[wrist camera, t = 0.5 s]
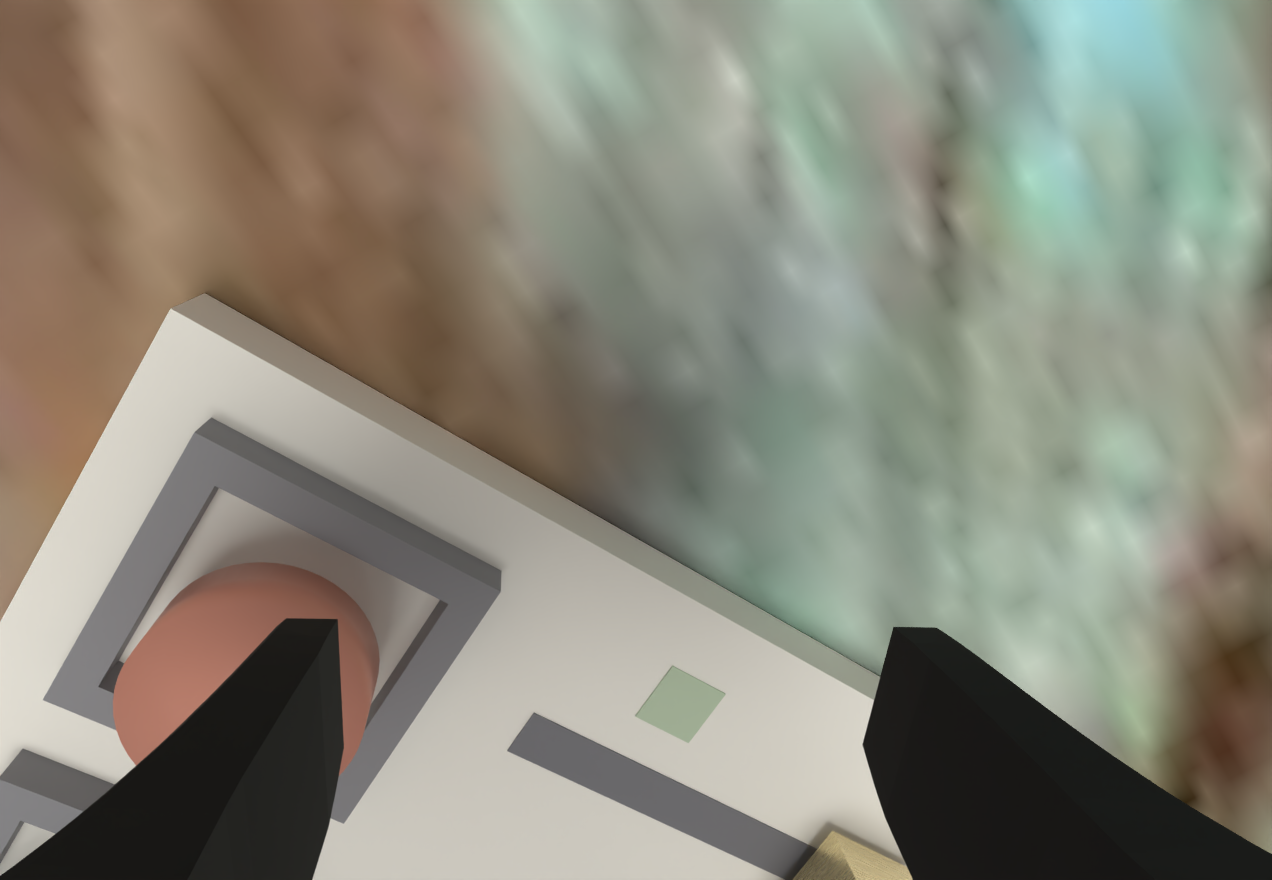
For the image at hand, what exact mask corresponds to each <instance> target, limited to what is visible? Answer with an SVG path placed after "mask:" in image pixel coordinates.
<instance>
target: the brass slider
mask: <svg viewBox="0 0 1272 880" xmlns="http://www.w3.org/2000/svg"><path fill="white" fill-rule="evenodd" d="M792 880H913V879H912V877H911V875H910V872H909V870H908V868H907V867H906V866H904V865H902V864H900V863H898V862H896V861H894V860H892V859H890V858H888V857H886V856H884V855H882V854H880V853H878V852H876V851H873V850H871V849H869V848H867V847H865V846H863V845H861V844H859V843H857V842H855V841H853V840H851V839H849V838H847V837H845V836H843V835H841V834H839V833H837V832H835V831H832V832H831V833H830V834H829V835H828V837H827V838H826V839H825V840H824V842H823V843H822V844H821V845H820V846H819V848H818V849H817V850H816V851H815V852H814V854H813V855H812V856H811V857H810V859H809V860H808V861H807V862H806V863H805V865H804V866H803V867H802V868H801V870H800V871H799V872H798V873H797V874H796V876H795V877H794V878H793V879H792Z"/></svg>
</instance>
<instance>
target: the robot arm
mask: <svg viewBox="0 0 1272 880" xmlns="http://www.w3.org/2000/svg"><path fill="white" fill-rule="evenodd" d="M862 745H863V748H864V752H865V755H866V759H867V762H868V766H869V769H870V772H871V776H872V779H873V783H874V786H875V789H876V792H877V795H878V798H879V801H880V804H881V807H882V810H883V813H884V816H885V819H886V821H887V823H888V826H889V828H890V830H891V832H892V835H893V837H894V839H895V841H896V844H897V846H898V848H899V850H900V852H901V855H902V857H903V859H904V861H905V863H906V866H907V868H908V870H909V872H910V875H911V877H912V879H913V880H1272V854H1271V853H1269V852H1267V851H1265V850H1263V849H1261V848H1260V847H1258V846H1256V845H1254V844H1253V843H1251V842H1249V841H1247V840H1246V839H1244V838H1242V837H1241V836H1239V835H1237V834H1236V833H1234V832H1232V831H1231V830H1229V829H1227V828H1225V827H1224V826H1222V825H1220V824H1219V823H1217V822H1215V821H1214V820H1212V819H1210V818H1209V817H1207V816H1205V815H1203V814H1202V813H1200V812H1198V811H1197V810H1195V809H1193V808H1192V807H1190V806H1188V805H1187V804H1185V803H1184V802H1182V801H1181V800H1179V799H1177V798H1176V797H1174V796H1173V795H1171V794H1169V793H1168V792H1166V791H1165V790H1163V789H1162V788H1160V787H1159V786H1157V785H1156V784H1154V783H1153V782H1151V781H1150V780H1148V779H1147V778H1145V777H1144V776H1142V775H1141V774H1139V773H1138V772H1136V771H1135V770H1133V769H1132V768H1130V767H1129V766H1127V765H1126V764H1124V763H1123V762H1121V761H1120V760H1118V759H1117V758H1115V757H1114V756H1112V755H1111V754H1110V753H1108V752H1107V751H1105V750H1104V749H1102V748H1101V747H1100V746H1098V745H1097V744H1095V743H1094V742H1093V741H1091V740H1090V739H1088V738H1087V737H1085V736H1084V735H1083V734H1081V733H1080V732H1079V731H1077V730H1076V729H1074V728H1073V727H1072V726H1070V725H1069V724H1068V723H1066V722H1065V721H1063V720H1062V719H1061V718H1059V717H1058V716H1057V715H1055V714H1054V713H1053V712H1051V711H1050V710H1049V709H1047V708H1046V707H1044V706H1043V705H1042V704H1040V703H1039V702H1038V701H1036V700H1035V699H1034V698H1032V697H1031V696H1030V695H1028V694H1027V693H1026V692H1024V691H1023V690H1022V689H1020V688H1019V687H1018V686H1016V685H1015V684H1014V683H1012V682H1011V681H1010V680H1009V679H1007V678H1006V677H1005V676H1003V675H1002V674H1001V673H999V672H998V671H997V670H995V669H994V668H993V667H991V666H990V665H989V664H987V663H986V662H985V661H983V660H982V659H981V658H979V657H978V656H976V655H975V654H974V653H972V652H971V651H970V650H968V649H967V648H966V647H964V646H963V645H961V644H960V643H959V642H957V641H956V640H954V639H953V638H951V637H950V636H948V635H947V634H945V633H944V632H942V631H941V630H939V629H938V628H921V627H893V631H892V635H891V639H890V642H889V646H888V650H887V654H886V658H885V661H884V665H883V669H882V673H881V676H880V680H879V684H878V688H877V691H876V695H875V699H874V703H873V706H872V710H871V714H870V718H869V721H868V725H867V729H866V733H865V736H864V740H863V744H862ZM343 750H344V737H343V716H342V695H341V675H340V654H339V633H338V619H306V618H286V619H285V620H283V621H282V622H281V623H280V624H279V625H277V626H276V627H275V629H274V630H273V631H272V632H271V633H270V634H269V635H268V636H267V637H266V638H265V639H264V640H263V641H262V642H261V643H260V644H259V646H258V647H257V648H256V649H255V650H254V651H253V652H252V653H251V654H250V655H249V656H248V657H247V658H246V659H245V660H244V661H243V662H242V664H241V665H240V666H239V667H238V668H237V669H236V670H235V671H234V672H233V673H232V674H231V675H230V676H229V677H228V678H227V679H226V680H225V681H224V682H223V683H222V684H221V685H220V686H219V687H218V688H217V689H216V690H215V691H214V692H213V693H212V694H211V695H210V696H209V697H208V698H207V699H206V700H205V701H204V702H203V703H202V704H201V705H200V706H199V707H198V708H197V709H196V710H195V711H194V712H193V713H192V714H191V715H190V716H189V717H188V718H187V719H186V720H185V721H184V722H183V723H182V724H181V725H180V726H179V727H178V728H177V729H176V730H175V731H174V732H173V733H172V734H170V735H169V736H168V737H167V738H166V739H165V740H164V741H163V742H162V743H161V744H160V745H159V746H158V747H156V748H155V749H154V750H153V751H152V752H151V753H150V754H149V755H147V756H146V757H145V758H144V759H143V760H142V761H141V762H140V763H138V764H137V765H136V766H135V767H134V768H133V769H132V770H131V771H129V772H128V773H127V774H126V775H125V776H124V777H123V778H122V779H120V780H119V781H118V782H117V783H116V784H115V785H114V786H113V787H111V788H110V789H109V790H108V791H107V792H106V793H105V794H104V795H102V796H101V797H100V798H99V799H98V800H96V801H95V802H94V803H93V804H92V805H90V806H89V807H88V808H87V809H86V810H84V811H83V812H82V813H81V814H79V815H78V816H77V817H76V818H75V819H73V820H72V821H71V822H70V823H68V824H67V825H66V826H65V827H63V828H62V829H61V830H60V831H58V832H57V833H56V834H55V835H53V836H52V837H51V838H49V839H48V840H47V841H46V842H44V843H43V844H42V845H40V846H39V847H38V848H36V849H35V850H34V851H33V852H31V853H30V854H29V855H27V856H26V857H25V858H23V859H22V860H21V861H19V862H18V863H17V864H16V865H14V866H13V867H11V868H10V869H9V870H7V871H6V872H5V873H3V874H2V875H0V880H312V879H313V876H314V873H315V869H316V866H317V863H318V860H319V857H320V853H321V850H322V847H323V844H324V840H325V837H326V834H327V831H328V827H329V823H330V818H331V813H332V808H333V803H334V798H335V793H336V788H337V782H338V777H339V772H340V766H341V761H342V755H343Z"/></svg>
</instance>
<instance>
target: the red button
mask: <svg viewBox="0 0 1272 880" xmlns="http://www.w3.org/2000/svg"><path fill="white" fill-rule="evenodd" d="M286 618H306V619H338V633H339V654H340V675H341V695H342V716H343V737H344V750H343V755H342V761H341V766H340V772H339V775H340V774H341V773H342V772H343V771H344V770H345V769H346V767H347V766H348V765H349V763H350V762H351V761H352V759H353V757H354V755H355V754H356V752H357V750H358V748H359V745H360V743H361V740H362V737H363V733H364V730H365V726H366V722H367V718H368V714H369V710H370V706H371V702H372V698H373V695H374V691H375V687H376V683H377V678H378V674H379V662H380V658H379V648H378V643H377V640H376V636H375V633H374V631H373V628H372V626H371V623H370V622H369V620H368V618H367V617H366V615H365V613H364V612H363V611H362V609H361V608H360V607H359V606H358V604H357V603H356V602H355V601H354V600H353V599H352V598H351V597H350V596H349V595H348V594H347V593H346V592H345V591H343V590H342V589H341V588H339V587H338V586H337V585H335V584H334V583H332V582H330V581H329V580H327V579H325V578H323V577H322V576H320V575H317V574H315V573H313V572H310V571H308V570H305V569H301V568H298V567H295V566H290V565H285V564H279V563H267V562H256V563H243V564H237V565H231V566H228V567H224V568H221V569H218V570H215V571H213V572H210V573H208V574H206V575H203V576H202V577H200V578H198V579H197V580H195V581H193V582H192V583H190V584H189V585H188V586H186V587H185V588H184V589H183V590H181V591H180V592H179V593H178V594H177V595H176V596H175V597H174V598H173V599H172V601H171V602H170V603H169V604H168V606H167V607H166V608H165V609H164V611H163V612H162V613H161V615H160V616H159V617H158V619H157V620H156V621H155V623H154V624H153V625H152V626H151V628H150V629H149V630H148V632H147V633H146V634H145V636H144V637H143V638H142V639H141V641H140V642H139V643H138V645H137V646H136V647H135V649H134V650H133V651H132V653H131V654H130V656H129V657H128V658H127V660H126V661H125V663H124V665H123V667H122V669H121V671H120V673H119V675H118V678H117V682H116V685H115V689H114V696H113V717H114V722H115V726H116V731H117V733H118V736H119V738H120V741H121V743H122V745H123V747H124V749H125V751H126V752H127V754H128V756H129V757H130V758H131V760H132V761H133V762H134V764H135V765H137V764H138V763H140V762H141V761H142V760H143V759H144V758H145V757H146V756H147V755H149V754H150V753H151V752H152V751H153V750H154V749H155V748H156V747H158V746H159V745H160V744H161V743H162V742H163V741H164V740H165V739H166V738H167V737H168V736H169V735H170V734H172V733H173V732H174V731H175V730H176V729H177V728H178V727H179V726H180V725H181V724H182V723H183V722H184V721H185V720H186V719H187V718H188V717H189V716H190V715H191V714H192V713H193V712H194V711H195V710H196V709H197V708H198V707H199V706H200V705H201V704H202V703H203V702H204V701H205V700H206V699H207V698H208V697H209V696H210V695H211V694H212V693H213V692H214V691H215V690H216V689H217V688H218V687H219V686H220V685H221V684H222V683H223V682H224V681H225V680H226V679H227V678H228V677H229V676H230V675H231V674H232V673H233V672H234V671H235V670H236V669H237V668H238V667H239V666H240V665H241V664H242V662H243V661H244V660H245V659H246V658H247V657H248V656H249V655H250V654H251V653H252V652H253V651H254V650H255V649H256V648H257V647H258V646H259V644H260V643H261V642H262V641H263V640H264V639H265V638H266V637H267V636H268V635H269V634H270V633H271V632H272V631H273V630H274V629H275V627H276V626H277V625H279V624H280V623H281V622H282V621H283V620H285V619H286Z"/></svg>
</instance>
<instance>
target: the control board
mask: <svg viewBox="0 0 1272 880" xmlns="http://www.w3.org/2000/svg"><path fill="white" fill-rule="evenodd" d="M256 562H267V563H279V564H285V565H290V566H295V567H298V568H301V569H305V570H308V571H310V572H313V573H315V574H317V575H320V576H322V577H323V578H325V579H327V580H329V581H330V582H332V583H334V584H335V585H337V586H338V587H339V588H341V589H342V590H343V591H345V592H346V593H347V594H348V595H349V596H350V597H351V598H352V599H353V600H354V601H355V602H356V603H357V604H358V606H359V607H360V608H361V609H362V611H363V612H364V613H365V615H366V617H367V618H368V620H369V622H370V623H371V626H372V628H373V631H374V633H375V636H376V640H377V643H378V648H379V658H380V662H379V674H378V678H377V683H376V687H375V691H374V695H373V698H372V702H371V706H370V710H369V714H368V718H367V722H366V726H365V730H364V733H363V737H362V740H361V743H360V745H359V748H358V750H357V752H356V754H355V755H354V757H353V759H352V761H351V762H350V763H349V765H348V766H347V767H346V769H345V770H344V771H343V772H342V773H341V774H340V775H339V777H338V782H337V788H336V793H335V798H334V803H333V808H332V813H331V818H330V823H329V827H328V831H327V834H326V837H325V840H324V844H323V847H322V850H321V853H320V857H319V860H318V863H317V866H316V869H315V873H314V876H313V879H312V880H792V879H793V878H794V877H795V876H796V874H797V873H798V872H799V871H800V870H801V868H802V867H803V866H804V865H805V863H806V862H807V861H808V860H809V859H810V857H811V856H812V855H813V854H814V852H815V851H816V850H817V849H818V848H819V846H820V845H821V844H822V843H823V842H824V840H825V839H826V838H827V837H828V835H829V834H830V833H831V832H832V831H835V832H837V833H839V834H841V835H843V836H845V837H847V838H849V839H851V840H853V841H855V842H857V843H859V844H861V845H863V846H865V847H867V848H869V849H871V850H873V851H876V852H878V853H880V854H882V855H884V856H886V857H888V858H890V859H892V860H894V861H896V862H898V863H900V864H902V865H904V866H906V863H905V861H904V859H903V857H902V855H901V852H900V850H899V848H898V846H897V844H896V841H895V839H894V837H893V835H892V832H891V830H890V828H889V826H888V823H887V821H886V819H885V816H884V813H883V810H882V807H881V804H880V801H879V798H878V795H877V792H876V789H875V786H874V783H873V779H872V776H871V772H870V769H869V766H868V762H867V759H866V755H865V752H864V748H863V745H862V744H863V740H864V736H865V733H866V729H867V725H868V721H869V718H870V714H871V710H872V706H873V703H874V699H875V695H876V691H877V688H878V684H879V680H880V677H879V676H878V675H876V674H874V673H872V672H871V671H869V670H867V669H865V668H864V667H862V666H860V665H858V664H857V663H855V662H853V661H851V660H850V659H848V658H846V657H844V656H843V655H841V654H839V653H837V652H835V651H834V650H832V649H830V648H828V647H827V646H825V645H823V644H821V643H820V642H818V641H816V640H814V639H813V638H811V637H809V636H807V635H806V634H804V633H802V632H800V631H799V630H797V629H795V628H793V627H792V626H790V625H788V624H786V623H784V622H783V621H781V620H779V619H777V618H776V617H774V616H772V615H770V614H769V613H767V612H765V611H763V610H762V609H760V608H758V607H756V606H755V605H753V604H751V603H749V602H748V601H746V600H744V599H742V598H740V597H739V596H737V595H735V594H733V593H732V592H730V591H728V590H726V589H725V588H723V587H721V586H719V585H718V584H716V583H714V582H712V581H711V580H709V579H707V578H705V577H704V576H702V575H700V574H698V573H697V572H695V571H693V570H691V569H689V568H688V567H686V566H684V565H682V564H681V563H679V562H677V561H675V560H674V559H672V558H670V557H668V556H667V555H665V554H663V553H661V552H660V551H658V550H656V549H654V548H653V547H651V546H649V545H647V544H645V543H644V542H642V541H640V540H638V539H637V538H635V537H633V536H631V535H630V534H628V533H626V532H624V531H623V530H621V529H619V528H617V527H616V526H614V525H612V524H610V523H609V522H607V521H605V520H603V519H602V518H600V517H598V516H596V515H594V514H593V513H591V512H589V511H587V510H586V509H584V508H582V507H580V506H579V505H577V504H575V503H573V502H572V501H570V500H568V499H566V498H565V497H563V496H561V495H559V494H558V493H556V492H554V491H552V490H550V489H549V488H547V487H545V486H543V485H542V484H540V483H538V482H536V481H535V480H533V479H531V478H529V477H528V476H526V475H524V474H522V473H521V472H519V471H517V470H515V469H514V468H512V467H510V466H508V465H507V464H505V463H503V462H501V461H499V460H498V459H496V458H494V457H492V456H491V455H489V454H487V453H485V452H484V451H482V450H480V449H478V448H477V447H475V446H473V445H471V444H470V443H468V442H466V441H464V440H463V439H461V438H459V437H457V436H455V435H454V434H452V433H450V432H448V431H447V430H445V429H443V428H441V427H440V426H438V425H436V424H434V423H433V422H431V421H429V420H427V419H426V418H424V417H422V416H420V415H419V414H417V413H415V412H413V411H412V410H410V409H408V408H406V407H404V406H403V405H401V404H399V403H397V402H396V401H394V400H392V399H390V398H389V397H387V396H385V395H383V394H382V393H380V392H378V391H376V390H375V389H373V388H371V387H369V386H368V385H366V384H364V383H362V382H360V381H359V380H357V379H355V378H353V377H352V376H350V375H348V374H346V373H345V372H343V371H341V370H339V369H338V368H336V367H334V366H332V365H331V364H329V363H327V362H325V361H324V360H322V359H320V358H318V357H317V356H315V355H313V354H311V353H309V352H308V351H306V350H304V349H302V348H301V347H299V346H297V345H295V344H294V343H292V342H290V341H288V340H287V339H285V338H283V337H281V336H280V335H278V334H276V333H274V332H273V331H271V330H269V329H267V328H265V327H264V326H262V325H260V324H258V323H257V322H255V321H253V320H251V319H250V318H248V317H246V316H244V315H243V314H241V313H239V312H237V311H236V310H234V309H232V308H230V307H229V306H227V305H225V304H223V303H221V302H220V301H218V300H216V299H214V298H213V297H211V296H209V295H207V294H206V293H204V294H202V295H199V296H197V297H195V298H193V299H191V300H188V301H186V302H184V303H182V304H179V305H177V306H175V307H173V308H171V309H170V311H169V312H168V314H167V316H166V318H165V320H164V322H163V323H162V325H161V327H160V329H159V331H158V333H157V335H156V336H155V338H154V340H153V342H152V344H151V346H150V347H149V349H148V351H147V353H146V355H145V357H144V358H143V360H142V362H141V364H140V366H139V368H138V369H137V371H136V373H135V375H134V377H133V379H132V381H131V382H130V384H129V386H128V388H127V390H126V392H125V393H124V395H123V397H122V399H121V401H120V403H119V404H118V406H117V408H116V410H115V412H114V414H113V416H112V417H111V419H110V421H109V423H108V425H107V427H106V428H105V430H104V432H103V434H102V436H101V438H100V439H99V441H98V443H97V445H96V447H95V449H94V451H93V452H92V454H91V456H90V458H89V460H88V462H87V463H86V465H85V467H84V469H83V471H82V473H81V474H80V476H79V478H78V480H77V482H76V484H75V486H74V487H73V489H72V491H71V493H70V495H69V497H68V498H67V500H66V502H65V504H64V506H63V508H62V509H61V511H60V513H59V515H58V517H57V519H56V520H55V522H54V524H53V526H52V528H51V530H50V532H49V533H48V535H47V537H46V539H45V541H44V543H43V544H42V546H41V548H40V550H39V552H38V554H37V555H36V557H35V559H34V561H33V563H32V565H31V567H30V568H29V570H28V572H27V574H26V576H25V578H24V579H23V581H22V583H21V585H20V587H19V589H18V590H17V592H16V594H15V596H14V598H13V600H12V602H11V603H10V605H9V607H8V609H7V611H6V613H5V614H4V616H3V618H2V620H1V622H0V875H2V874H3V873H5V872H6V871H7V870H9V869H10V868H11V867H13V866H14V865H16V864H17V863H18V862H19V861H21V860H22V859H23V858H25V857H26V856H27V855H29V854H30V853H31V852H33V851H34V850H35V849H36V848H38V847H39V846H40V845H42V844H43V843H44V842H46V841H47V840H48V839H49V838H51V837H52V836H53V835H55V834H56V833H57V832H58V831H60V830H61V829H62V828H63V827H65V826H66V825H67V824H68V823H70V822H71V821H72V820H73V819H75V818H76V817H77V816H78V815H79V814H81V813H82V812H83V811H84V810H86V809H87V808H88V807H89V806H90V805H92V804H93V803H94V802H95V801H96V800H98V799H99V798H100V797H101V796H102V795H104V794H105V793H106V792H107V791H108V790H109V789H110V788H111V787H113V786H114V785H115V784H116V783H117V782H118V781H119V780H120V779H122V778H123V777H124V776H125V775H126V774H127V773H128V772H129V771H131V770H132V769H133V768H134V767H135V766H136V765H135V764H134V762H133V761H132V760H131V758H130V757H129V756H128V754H127V752H126V751H125V749H124V747H123V745H122V743H121V741H120V738H119V736H118V733H117V731H116V726H115V722H114V717H113V696H114V689H115V685H116V682H117V678H118V675H119V673H120V671H121V669H122V667H123V665H124V663H125V661H126V660H127V658H128V657H129V656H130V654H131V653H132V651H133V650H134V649H135V647H136V646H137V645H138V643H139V642H140V641H141V639H142V638H143V637H144V636H145V634H146V633H147V632H148V630H149V629H150V628H151V626H152V625H153V624H154V623H155V621H156V620H157V619H158V617H159V616H160V615H161V613H162V612H163V611H164V609H165V608H166V607H167V606H168V604H169V603H170V602H171V601H172V599H173V598H174V597H175V596H176V595H177V594H178V593H179V592H180V591H181V590H183V589H184V588H185V587H186V586H188V585H189V584H190V583H192V582H193V581H195V580H197V579H198V578H200V577H202V576H203V575H206V574H208V573H210V572H213V571H215V570H218V569H221V568H224V567H228V566H231V565H237V564H243V563H256ZM906 867H907V866H906Z"/></svg>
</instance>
